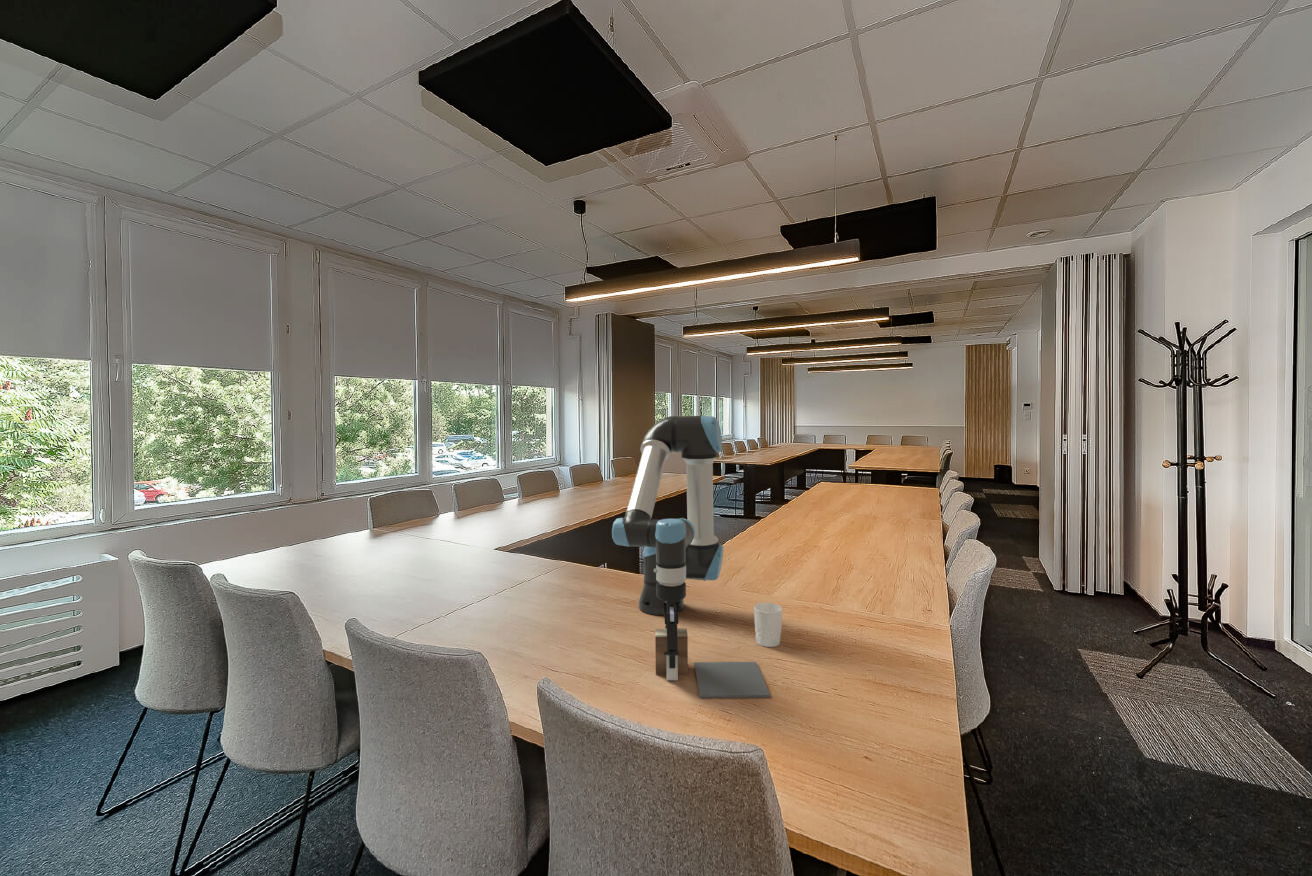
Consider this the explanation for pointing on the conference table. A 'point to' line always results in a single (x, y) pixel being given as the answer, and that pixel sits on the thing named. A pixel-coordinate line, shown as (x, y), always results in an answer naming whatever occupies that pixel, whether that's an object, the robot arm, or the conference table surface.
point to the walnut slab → (662, 647)
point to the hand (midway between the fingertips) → (671, 669)
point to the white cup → (768, 624)
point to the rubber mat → (730, 680)
